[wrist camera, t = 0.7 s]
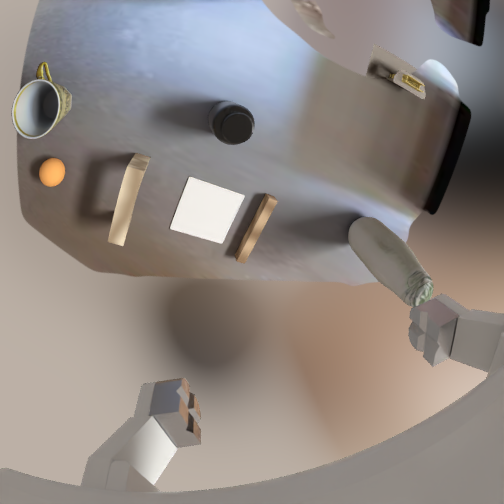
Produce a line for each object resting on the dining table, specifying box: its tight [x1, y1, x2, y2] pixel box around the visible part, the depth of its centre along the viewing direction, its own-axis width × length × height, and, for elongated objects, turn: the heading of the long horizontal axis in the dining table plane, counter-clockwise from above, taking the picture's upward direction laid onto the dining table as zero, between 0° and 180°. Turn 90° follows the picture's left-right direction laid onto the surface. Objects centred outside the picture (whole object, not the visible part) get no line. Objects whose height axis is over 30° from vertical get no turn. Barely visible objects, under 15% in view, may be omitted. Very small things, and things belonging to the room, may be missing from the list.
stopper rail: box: [235, 194, 278, 263], centre depth 62 cm, size 16×2×2 cm, turn 154°
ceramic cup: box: [12, 62, 72, 139], centre depth 33 cm, size 13×10×10 cm
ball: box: [39, 158, 65, 187], centre depth 43 cm, size 6×6×6 cm
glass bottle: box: [348, 217, 433, 307], centre depth 58 cm, size 10×10×28 cm
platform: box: [366, 44, 426, 99], centre depth 47 cm, size 12×18×7 cm, turn 77°
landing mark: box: [170, 176, 245, 244], centre depth 58 cm, size 12×12×1 cm
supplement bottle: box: [208, 101, 255, 145], centre depth 44 cm, size 7×7×12 cm
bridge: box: [108, 153, 150, 246], centre depth 48 cm, size 3×14×9 cm, turn 154°
